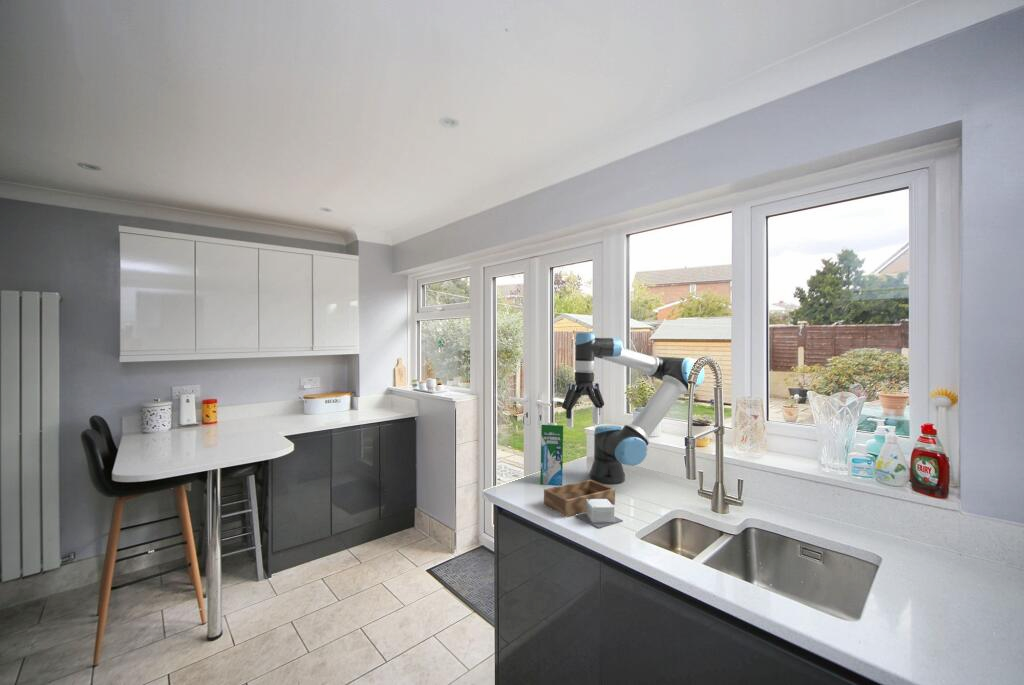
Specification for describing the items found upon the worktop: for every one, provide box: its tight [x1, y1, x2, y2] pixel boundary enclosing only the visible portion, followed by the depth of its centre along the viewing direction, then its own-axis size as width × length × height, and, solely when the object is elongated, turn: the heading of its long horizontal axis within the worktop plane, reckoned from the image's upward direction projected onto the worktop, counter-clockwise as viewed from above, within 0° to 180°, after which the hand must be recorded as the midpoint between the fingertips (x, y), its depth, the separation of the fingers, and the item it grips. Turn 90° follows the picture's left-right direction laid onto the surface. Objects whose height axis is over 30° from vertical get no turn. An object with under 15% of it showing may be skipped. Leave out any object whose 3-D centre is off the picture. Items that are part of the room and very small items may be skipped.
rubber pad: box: [575, 512, 623, 529], centre depth 144 cm, size 11×11×1 cm
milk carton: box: [539, 422, 564, 486], centre depth 182 cm, size 9×9×25 cm
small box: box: [585, 499, 615, 523], centre depth 144 cm, size 8×8×5 cm
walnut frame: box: [543, 478, 616, 518], centre depth 157 cm, size 23×13×6 cm, turn 123°
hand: (583, 425), depth 169 cm, fingers open, 13 cm apart
